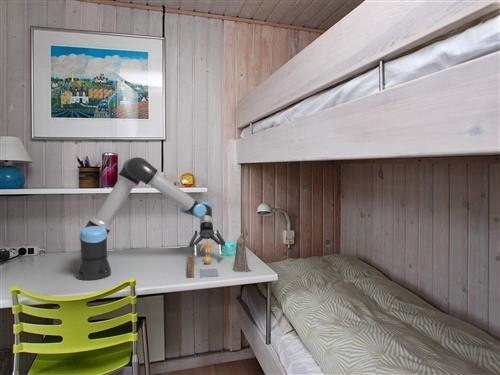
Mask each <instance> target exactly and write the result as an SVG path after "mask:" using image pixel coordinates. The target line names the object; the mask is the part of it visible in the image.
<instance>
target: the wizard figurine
mask: <svg viewBox="0 0 500 375" xmlns="http://www.w3.org/2000/svg"><path fill="white" fill-rule="evenodd" d="M242 229H243V230H242V233H240V235H239V237H238V238H237V240H236V242H235V243H236V254H235V255H234V262H233V268H232V271H233V272H236V273H247V272H252V269H250V268H249V264H248V258H247V257H248V256H247V250H246V239H245V238H246V237H247V236H249V232H248V229H247V224H246V222H244V225H243V228H242Z"/></svg>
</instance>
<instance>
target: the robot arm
mask: <svg viewBox="0 0 500 375" xmlns="http://www.w3.org/2000/svg"><path fill="white" fill-rule="evenodd" d="M117 177H118V180H117V181H116V183H115V184H114V187H113V188H112V190H111V191H110V193H109V194H108V196H107V198H106V199H105V201H104V202H103V203H102V205H101V207H100V208H99V210H98V211H97V213H96V215H95V217H94V218H93V217H92V218H90V219H89V221H88V222H87V223H86V225H85V226H84V227H83V228H82V229H81V230H80V234H79V241H80V262H79V266H78V269H77V273H76V278H77V279H78V280H81V281H94V280H95V281H96V280H101V279H104V278H105V279H106V278H107V277H109V276H111V275H112V267H111V265H110V263H109V259H108V235H109V233H110V231H112V230H111V225H112V223H113V221H114V220H115V218H116V216H117V214H118V213H119V211H120V210H121V208H122V207H123V205H124V203H125V202H126V199H127V198H128V197H129V195H130V193H131V192H132V190H133V189H134V187H138V186H139V184H140V182H141V183H144V184H145V185H147V186H149V185H150V186H151V187H153V188H154V189H155V190H157V191H158V192H160V193H161V194H163V196H165V197H166V198H168V199H170V200H171V201H172V202H174V203H175V204H176V205H178V206H180V207H179V210H180V213H183V214H185V215H186V214H187V215H190V216H192V217H195V218H198V219H199V231H198V230H195V231H194V234H193V236H192V238H191V239H190V241H189V244H188V246H189V248H191V247H192V253H194V258H195V259H196V258H197V245H199V243H200V242H201V241H202V240H203V239H204V240H208V239H209V240H213V242H215V243H216V244H217V245H218V255H219V257H220V258H222V254H221V251H222V250H223V247H222V246H223V245H225V241H226V240H224V238H223V237H222V235H221V234H220V231H219V229H216V231H215V230H214V225H213V224H214V223H213V209H212V204H211V203H210V202H208V201H205V202H204V201H202V202H198V201H197V200H195V199H194V198H193V197H192V196H191V195H189V194H188V193H186V192H185V191H183V190H182V189H181V188H179V187H178V186H176V184H174V183H172V182H171V181H170V180H169V179H168V178H166V177H164V176H163V175H161V173H159V170H158V169H157V168H155V167H154V166H153V165H152V164H151V163H149V162H148V161H147V160H146V159H144V158H143V157H137V156H136V157H131V158H129V159H127V160H126V161H124V163H123V164H122V168H121V170H120V171H119V173H118V175H117ZM198 236H199V237H198ZM197 237H198V238H197Z"/></svg>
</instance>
